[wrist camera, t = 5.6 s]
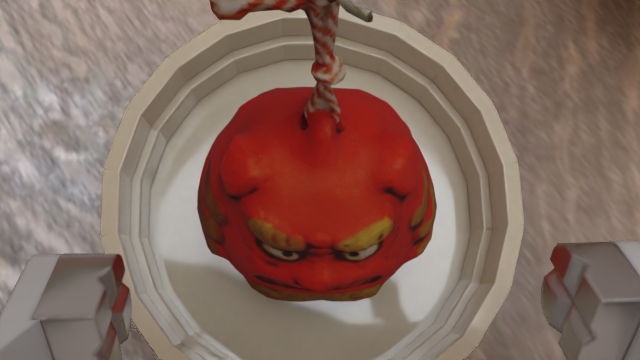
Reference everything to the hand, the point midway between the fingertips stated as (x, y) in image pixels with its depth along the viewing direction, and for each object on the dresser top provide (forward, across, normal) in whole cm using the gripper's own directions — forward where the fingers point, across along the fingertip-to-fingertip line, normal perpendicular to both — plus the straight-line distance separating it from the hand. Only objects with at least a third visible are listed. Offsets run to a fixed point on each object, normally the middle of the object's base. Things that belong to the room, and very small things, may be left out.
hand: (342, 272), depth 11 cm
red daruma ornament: (+10, 0, +6) cm, 12 cm away
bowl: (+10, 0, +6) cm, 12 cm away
